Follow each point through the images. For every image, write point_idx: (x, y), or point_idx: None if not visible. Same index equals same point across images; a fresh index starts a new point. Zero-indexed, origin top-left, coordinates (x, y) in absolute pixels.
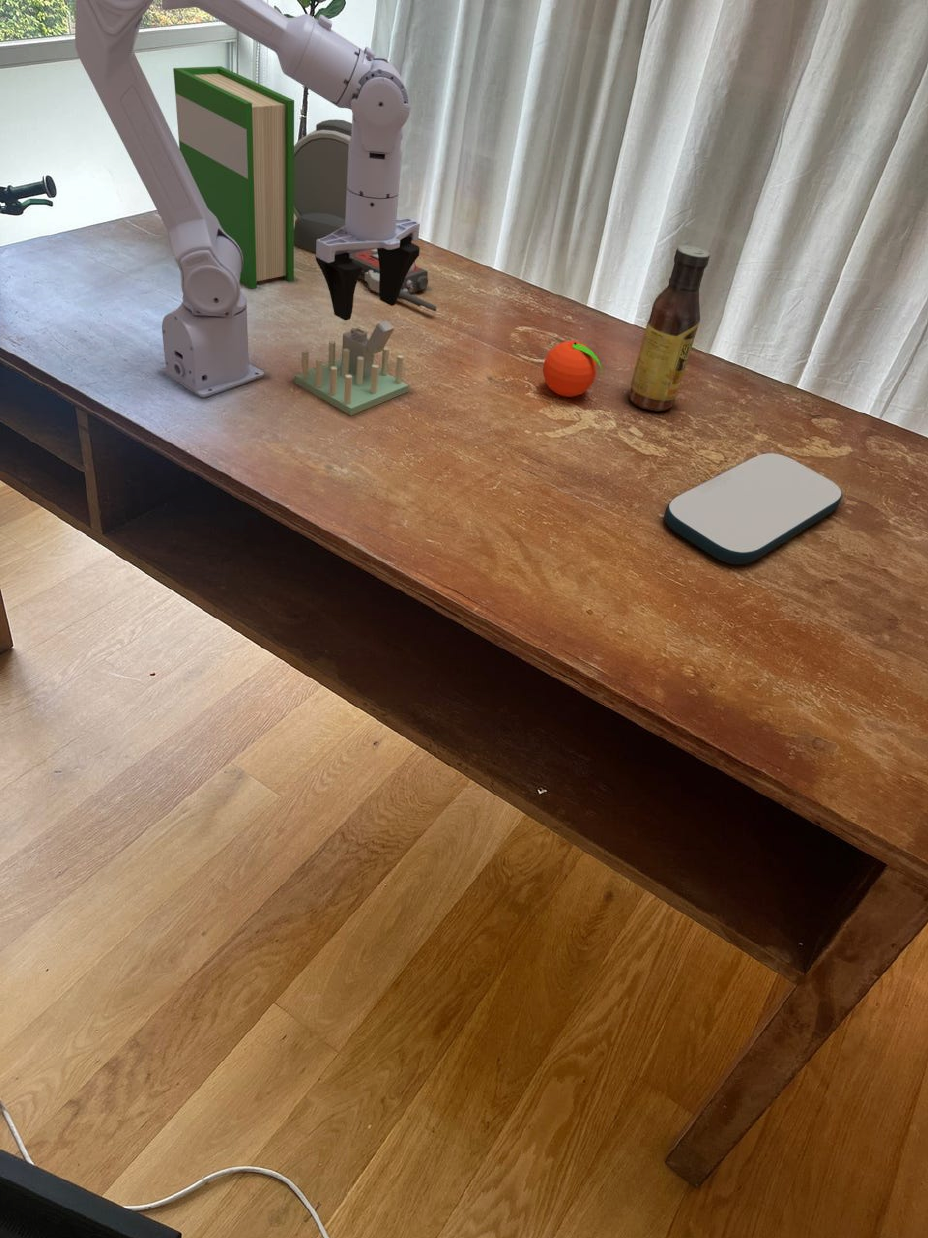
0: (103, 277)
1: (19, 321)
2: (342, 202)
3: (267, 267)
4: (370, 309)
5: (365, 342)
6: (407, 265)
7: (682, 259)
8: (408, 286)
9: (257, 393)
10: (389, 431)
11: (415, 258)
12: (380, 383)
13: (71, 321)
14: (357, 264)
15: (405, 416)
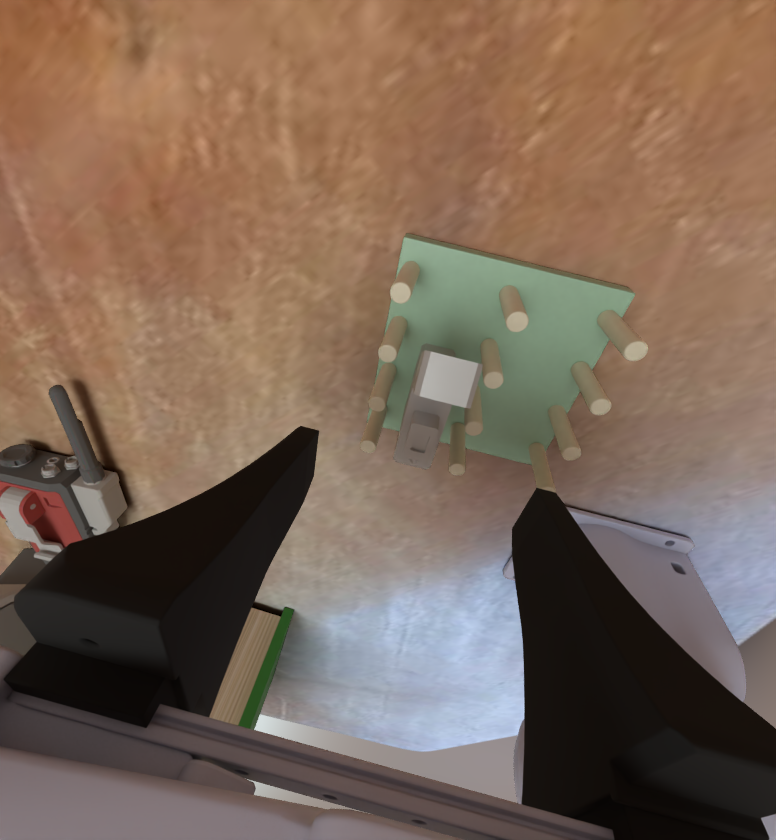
0: (412, 702)
1: None
2: (24, 654)
3: (249, 626)
4: (175, 478)
5: (430, 406)
6: (192, 529)
7: None
8: (56, 467)
9: (618, 484)
10: (673, 133)
11: (111, 538)
12: (450, 304)
13: None
14: None
15: (547, 149)
